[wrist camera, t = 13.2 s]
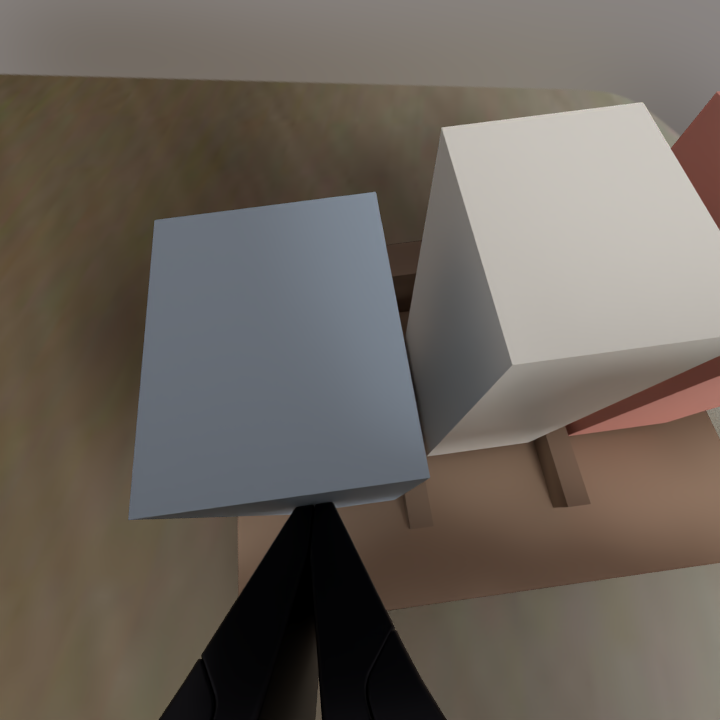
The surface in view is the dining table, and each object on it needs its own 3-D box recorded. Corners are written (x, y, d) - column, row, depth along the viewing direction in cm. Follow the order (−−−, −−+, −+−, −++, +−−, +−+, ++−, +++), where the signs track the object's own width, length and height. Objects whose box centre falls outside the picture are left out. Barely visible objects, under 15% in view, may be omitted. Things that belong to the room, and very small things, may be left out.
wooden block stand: (737, 550, 15) (878, 565, 11) (251, 620, 15) (202, 663, 10) (612, 271, 20) (676, 207, 16) (245, 320, 19) (210, 268, 15)
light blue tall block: (394, 499, 14) (430, 477, 5) (288, 514, 14) (127, 519, 5) (375, 375, 16) (376, 191, 7) (281, 388, 16) (154, 219, 7)
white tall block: (528, 442, 15) (778, 329, 6) (426, 456, 15) (512, 365, 6) (494, 328, 17) (643, 102, 8) (404, 340, 17) (441, 127, 7)
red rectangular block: (665, 422, 15) (1133, 279, 6) (565, 436, 15) (874, 313, 6) (617, 311, 17) (913, 67, 8) (528, 323, 17) (716, 91, 8)
